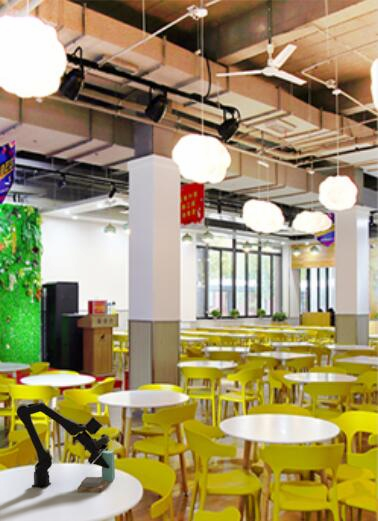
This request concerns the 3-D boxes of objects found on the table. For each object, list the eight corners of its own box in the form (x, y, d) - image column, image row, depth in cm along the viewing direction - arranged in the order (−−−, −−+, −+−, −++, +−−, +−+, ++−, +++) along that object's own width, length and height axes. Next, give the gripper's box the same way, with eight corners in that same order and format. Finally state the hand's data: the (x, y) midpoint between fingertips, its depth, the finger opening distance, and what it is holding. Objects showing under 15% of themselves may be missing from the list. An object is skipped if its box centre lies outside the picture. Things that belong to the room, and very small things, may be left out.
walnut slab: (77, 493, 258) (77, 487, 258) (84, 485, 269) (84, 480, 269) (101, 493, 257) (101, 487, 257) (107, 485, 268) (107, 480, 268)
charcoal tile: (81, 486, 259) (81, 482, 260) (86, 481, 267) (86, 477, 268) (98, 486, 259) (98, 482, 259) (103, 481, 267) (103, 476, 267)
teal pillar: (102, 481, 273) (101, 453, 274) (104, 478, 278) (103, 450, 278) (112, 481, 272) (111, 453, 273) (114, 478, 277) (114, 450, 278)
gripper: (94, 434, 268) (118, 458, 266) (103, 425, 286) (126, 448, 284) (77, 451, 268) (101, 476, 266) (88, 442, 286) (111, 464, 284)
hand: (111, 465), depth 275 cm, fingers open, 8 cm apart
